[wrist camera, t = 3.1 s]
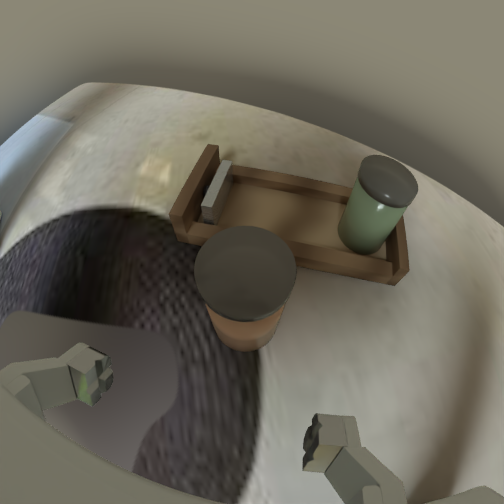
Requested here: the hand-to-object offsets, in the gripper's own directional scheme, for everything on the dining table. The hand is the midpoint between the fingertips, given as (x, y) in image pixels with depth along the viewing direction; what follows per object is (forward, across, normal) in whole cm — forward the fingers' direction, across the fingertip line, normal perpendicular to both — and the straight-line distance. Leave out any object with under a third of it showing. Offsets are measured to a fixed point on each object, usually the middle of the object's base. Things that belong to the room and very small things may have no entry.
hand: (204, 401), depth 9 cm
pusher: (+20, +6, -5) cm, 21 cm away
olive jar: (+20, -9, -5) cm, 23 cm away
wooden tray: (+20, -2, -5) cm, 21 cm away
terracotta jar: (+12, 0, +3) cm, 13 cm away
